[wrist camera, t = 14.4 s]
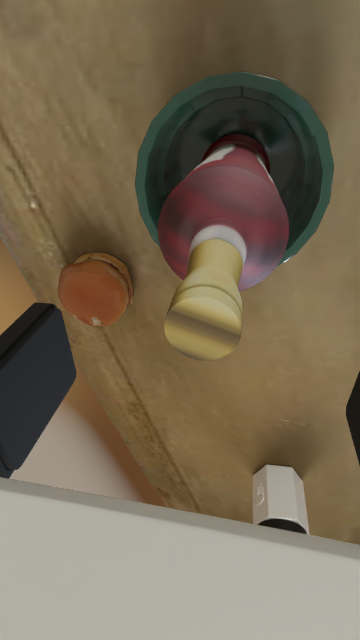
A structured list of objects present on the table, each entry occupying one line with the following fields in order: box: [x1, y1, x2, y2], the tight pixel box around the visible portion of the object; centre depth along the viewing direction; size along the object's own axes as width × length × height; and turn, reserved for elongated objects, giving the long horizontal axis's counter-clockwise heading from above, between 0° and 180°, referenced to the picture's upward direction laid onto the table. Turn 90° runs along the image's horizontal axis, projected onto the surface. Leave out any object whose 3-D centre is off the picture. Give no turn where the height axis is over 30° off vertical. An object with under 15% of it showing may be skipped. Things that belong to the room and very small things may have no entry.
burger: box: [58, 252, 134, 326], centre depth 44 cm, size 10×9×5 cm
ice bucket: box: [135, 71, 334, 267], centre depth 31 cm, size 16×16×10 cm
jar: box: [253, 465, 309, 535], centre depth 58 cm, size 9×8×12 cm
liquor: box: [158, 134, 289, 360], centre depth 23 cm, size 7×7×28 cm
